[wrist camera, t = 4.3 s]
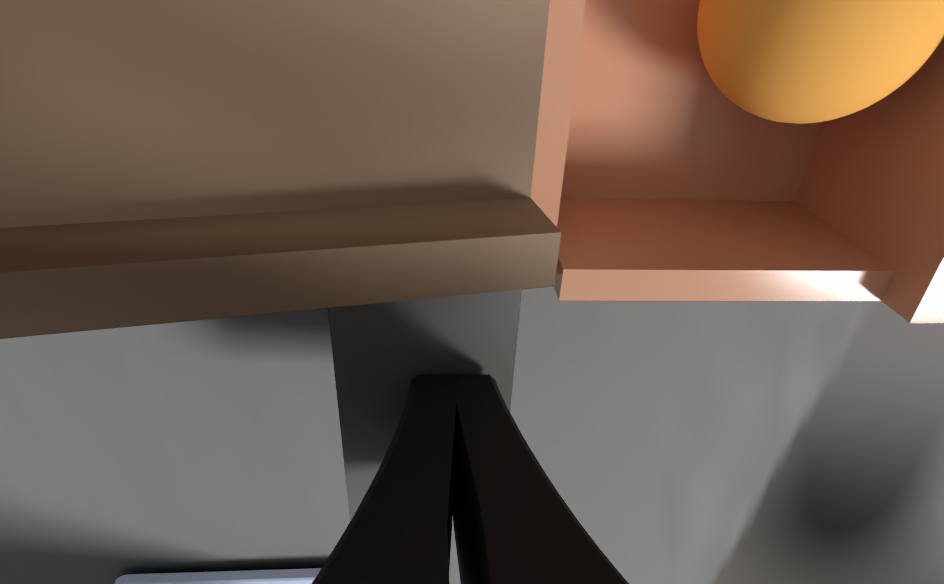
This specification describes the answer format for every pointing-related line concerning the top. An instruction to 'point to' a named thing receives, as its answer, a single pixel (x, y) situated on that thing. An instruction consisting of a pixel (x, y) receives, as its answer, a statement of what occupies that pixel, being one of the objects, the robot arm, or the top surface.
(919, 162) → the cup
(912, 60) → the ball
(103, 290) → the lever board
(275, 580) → the robot arm
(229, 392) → the top surface
